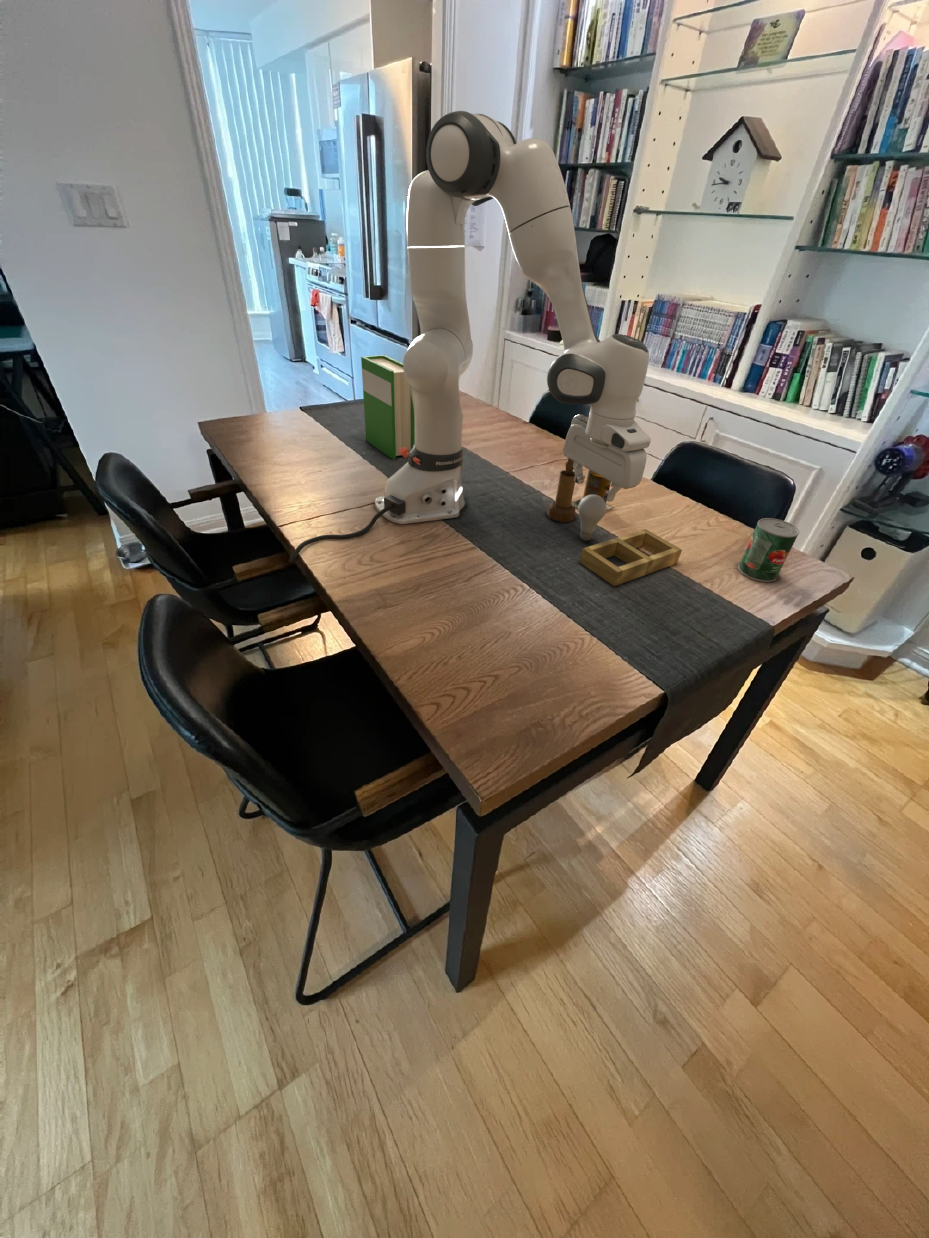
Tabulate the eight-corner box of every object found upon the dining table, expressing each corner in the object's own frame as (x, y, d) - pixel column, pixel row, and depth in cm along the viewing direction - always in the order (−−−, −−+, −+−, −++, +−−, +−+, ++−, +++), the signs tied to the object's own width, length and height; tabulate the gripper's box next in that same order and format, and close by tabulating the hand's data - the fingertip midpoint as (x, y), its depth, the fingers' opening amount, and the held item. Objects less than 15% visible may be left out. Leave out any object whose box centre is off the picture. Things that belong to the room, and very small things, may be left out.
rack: (614, 586, 107) (618, 572, 105) (579, 562, 114) (582, 548, 111) (677, 563, 116) (682, 549, 113) (641, 542, 122) (645, 528, 120)
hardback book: (415, 455, 157) (414, 368, 142) (393, 459, 153) (390, 371, 139) (387, 437, 168) (384, 354, 153) (366, 440, 165) (361, 356, 150)
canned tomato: (774, 586, 110) (797, 540, 104) (735, 574, 113) (755, 528, 107) (778, 570, 116) (801, 525, 109) (741, 558, 119) (760, 514, 112)
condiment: (612, 508, 136) (623, 463, 129) (588, 515, 132) (598, 469, 125) (592, 497, 141) (601, 453, 133) (568, 503, 137) (577, 458, 129)
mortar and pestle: (576, 513, 132) (590, 442, 121) (571, 524, 127) (586, 451, 116) (550, 508, 134) (562, 437, 123) (544, 519, 129) (556, 446, 118)
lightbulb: (569, 543, 120) (578, 498, 113) (574, 531, 125) (583, 487, 118) (595, 549, 118) (606, 504, 112) (600, 537, 123) (611, 493, 116)
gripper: (563, 412, 111) (551, 475, 119) (635, 446, 98) (615, 513, 106) (585, 409, 114) (572, 471, 122) (657, 442, 101) (637, 508, 109)
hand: (593, 491), depth 114 cm, fingers open, 8 cm apart
